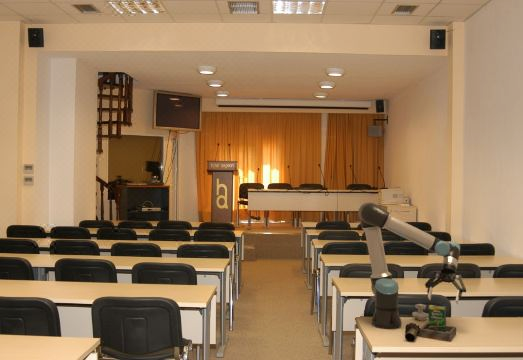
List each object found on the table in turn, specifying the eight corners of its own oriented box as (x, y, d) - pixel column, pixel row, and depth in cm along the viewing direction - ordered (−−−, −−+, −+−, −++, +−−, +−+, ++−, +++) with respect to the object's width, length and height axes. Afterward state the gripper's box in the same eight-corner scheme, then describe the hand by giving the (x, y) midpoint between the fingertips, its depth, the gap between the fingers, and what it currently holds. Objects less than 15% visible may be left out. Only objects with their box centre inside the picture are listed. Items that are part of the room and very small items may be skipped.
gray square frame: (419, 336, 241) (419, 328, 241) (426, 329, 254) (426, 322, 254) (450, 341, 234) (450, 333, 234) (456, 334, 246) (456, 326, 246)
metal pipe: (415, 343, 232) (415, 331, 232) (400, 341, 235) (400, 329, 235) (421, 333, 247) (421, 322, 248) (407, 331, 251) (407, 320, 251)
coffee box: (428, 332, 245) (428, 305, 245) (429, 330, 247) (429, 304, 248) (445, 334, 241) (445, 307, 241) (446, 333, 243) (446, 306, 244)
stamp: (422, 317, 279) (422, 302, 279) (430, 320, 273) (431, 305, 273) (409, 319, 275) (409, 304, 275) (418, 322, 269) (418, 306, 269)
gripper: (475, 273, 261) (469, 308, 248) (426, 269, 274) (419, 301, 261) (473, 264, 257) (468, 299, 244) (424, 260, 270) (416, 293, 257)
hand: (442, 300), depth 253 cm, fingers open, 13 cm apart
